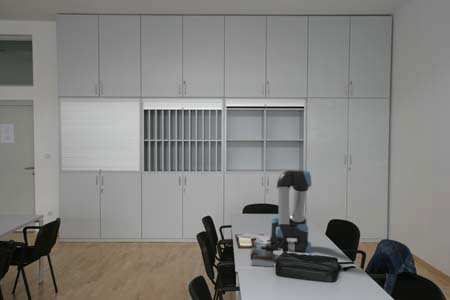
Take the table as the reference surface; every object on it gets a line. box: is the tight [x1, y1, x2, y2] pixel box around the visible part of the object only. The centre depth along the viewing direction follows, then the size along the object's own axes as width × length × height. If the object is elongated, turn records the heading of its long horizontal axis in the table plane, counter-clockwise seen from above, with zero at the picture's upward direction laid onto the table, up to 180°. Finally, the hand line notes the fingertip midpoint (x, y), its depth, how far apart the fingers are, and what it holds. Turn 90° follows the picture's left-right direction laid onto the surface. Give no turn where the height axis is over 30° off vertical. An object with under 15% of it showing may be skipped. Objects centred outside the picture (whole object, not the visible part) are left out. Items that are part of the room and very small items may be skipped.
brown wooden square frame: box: [250, 246, 274, 261], centre depth 245 cm, size 16×16×4 cm
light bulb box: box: [253, 238, 271, 256], centre depth 245 cm, size 11×7×11 cm, turn 45°
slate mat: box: [250, 259, 274, 268], centre depth 230 cm, size 12×14×1 cm
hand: (256, 244), depth 245 cm, fingers closed on light bulb box, 11 cm apart
